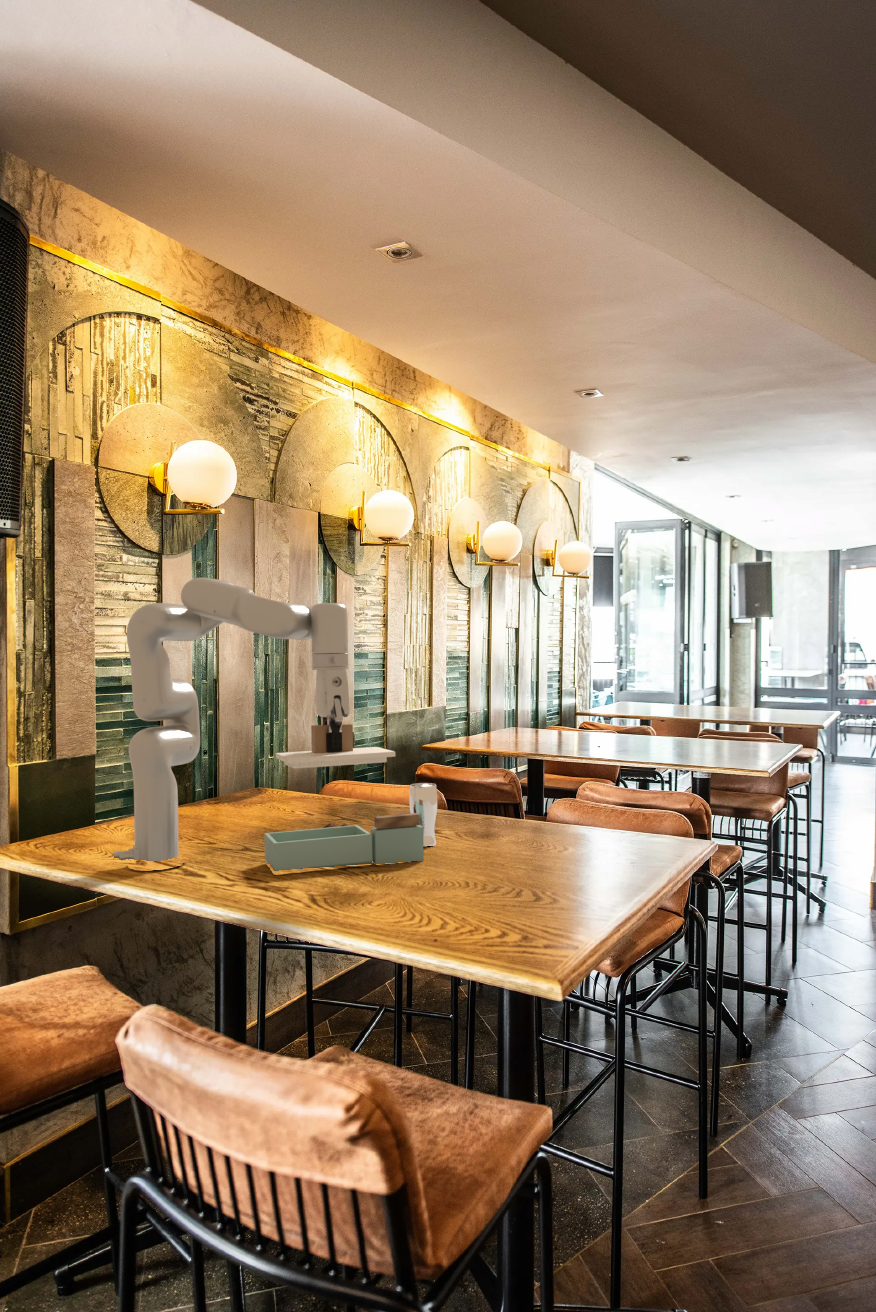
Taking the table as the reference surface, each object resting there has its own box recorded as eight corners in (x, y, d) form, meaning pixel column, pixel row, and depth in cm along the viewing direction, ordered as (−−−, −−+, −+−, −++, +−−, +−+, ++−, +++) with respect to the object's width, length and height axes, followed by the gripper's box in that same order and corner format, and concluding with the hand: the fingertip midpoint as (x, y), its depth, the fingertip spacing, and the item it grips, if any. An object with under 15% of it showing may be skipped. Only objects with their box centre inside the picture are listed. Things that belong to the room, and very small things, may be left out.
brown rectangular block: (377, 828, 190) (377, 818, 190) (374, 827, 192) (374, 816, 192) (419, 824, 194) (418, 814, 194) (415, 823, 196) (415, 812, 196)
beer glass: (439, 842, 213) (438, 782, 214) (436, 848, 207) (435, 786, 207) (412, 841, 214) (411, 782, 214) (408, 847, 207) (407, 786, 207)
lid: (288, 769, 163) (287, 730, 164) (275, 763, 175) (275, 726, 175) (395, 762, 172) (394, 724, 172) (377, 756, 183) (376, 721, 183)
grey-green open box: (275, 876, 181) (274, 840, 181) (264, 863, 193) (264, 829, 193) (423, 860, 193) (423, 826, 194) (405, 849, 205) (404, 817, 205)
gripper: (359, 662, 169) (360, 753, 169) (337, 662, 184) (338, 747, 184) (322, 662, 166) (324, 756, 166) (303, 663, 181) (304, 749, 181)
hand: (331, 750), depth 175 cm, fingers closed on lid, 3 cm apart
